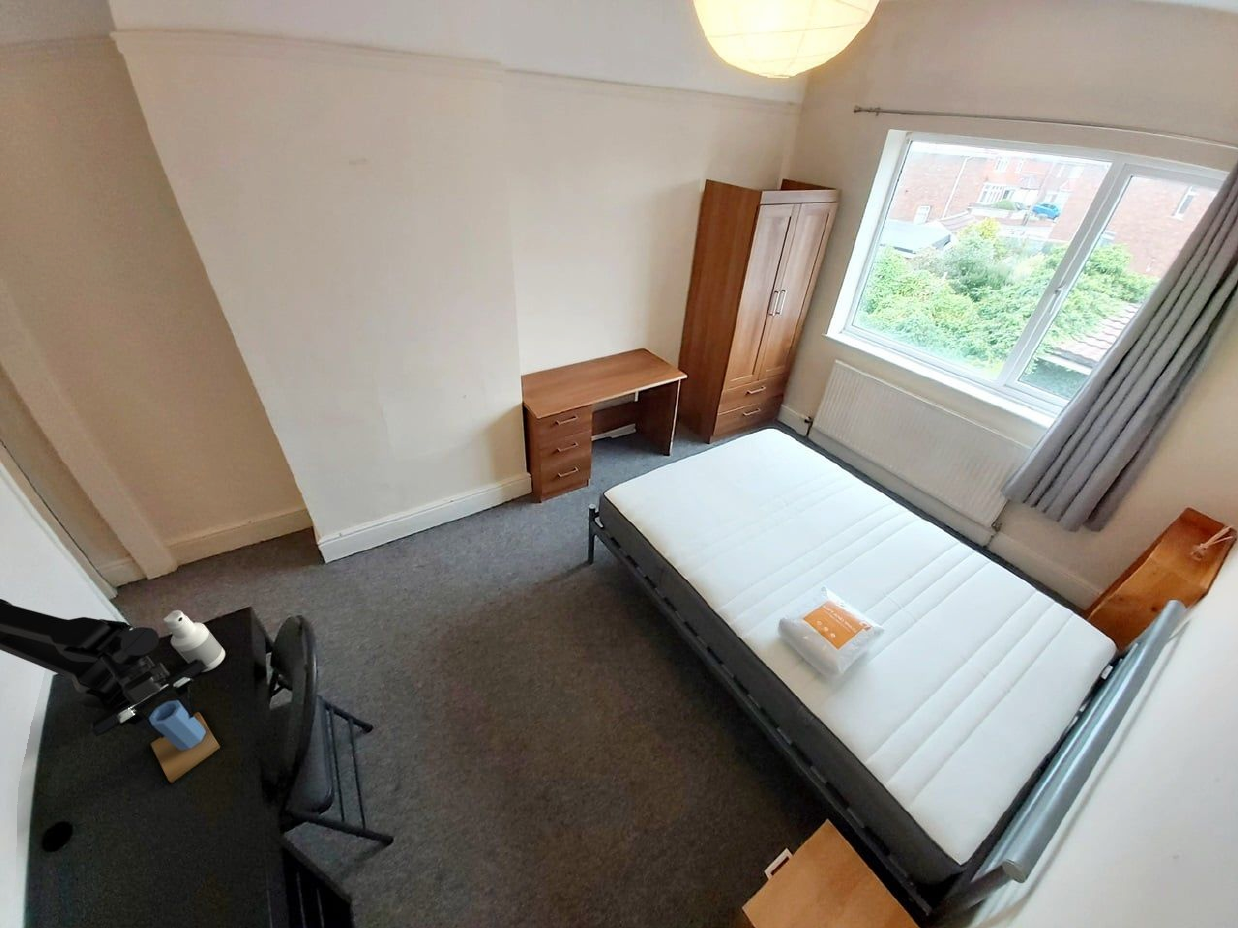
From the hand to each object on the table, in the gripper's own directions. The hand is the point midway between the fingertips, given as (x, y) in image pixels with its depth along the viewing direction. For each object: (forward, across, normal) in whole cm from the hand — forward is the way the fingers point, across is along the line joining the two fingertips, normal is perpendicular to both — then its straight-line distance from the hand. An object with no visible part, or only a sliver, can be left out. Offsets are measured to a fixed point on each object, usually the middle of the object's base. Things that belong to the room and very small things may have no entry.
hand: (178, 726), depth 104 cm
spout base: (+5, -2, +7) cm, 8 cm away
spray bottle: (-9, +10, +21) cm, 25 cm away
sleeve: (+4, 0, +6) cm, 7 cm away
